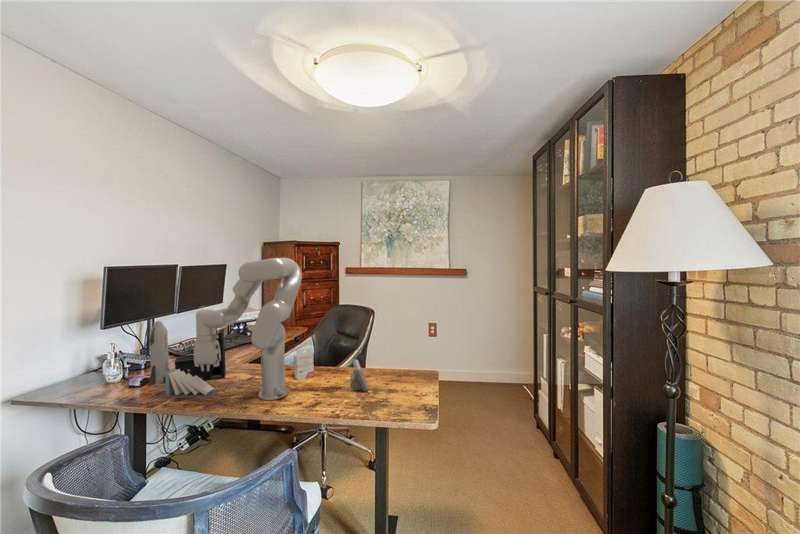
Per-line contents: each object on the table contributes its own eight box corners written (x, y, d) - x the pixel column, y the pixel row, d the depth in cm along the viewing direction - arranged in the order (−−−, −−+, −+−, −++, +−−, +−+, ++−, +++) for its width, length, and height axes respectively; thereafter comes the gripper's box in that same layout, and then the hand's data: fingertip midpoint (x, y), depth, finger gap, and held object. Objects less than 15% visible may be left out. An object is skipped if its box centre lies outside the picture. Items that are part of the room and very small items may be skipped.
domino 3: (195, 389, 159) (183, 370, 159) (188, 393, 154) (175, 374, 154) (192, 391, 159) (180, 372, 159) (185, 395, 154) (172, 376, 154)
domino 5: (214, 388, 158) (196, 375, 159) (207, 392, 153) (188, 379, 154) (212, 391, 158) (194, 378, 159) (205, 395, 154) (186, 382, 154)
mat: (222, 390, 161) (222, 389, 161) (209, 398, 151) (209, 397, 151) (174, 389, 162) (174, 388, 162) (158, 398, 152) (158, 397, 152)
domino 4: (204, 388, 159) (189, 373, 159) (197, 392, 154) (181, 376, 154) (202, 391, 159) (186, 375, 159) (195, 395, 154) (179, 379, 154)
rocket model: (156, 387, 166) (154, 323, 165) (141, 387, 166) (139, 323, 166) (176, 377, 180) (174, 318, 179) (163, 377, 180) (161, 318, 180)
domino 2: (186, 389, 159) (179, 368, 159) (179, 394, 154) (171, 372, 154) (183, 390, 159) (176, 369, 159) (175, 395, 154) (168, 373, 154)
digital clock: (368, 392, 155) (367, 368, 155) (347, 393, 155) (346, 368, 155) (370, 379, 171) (370, 358, 171) (352, 380, 171) (351, 358, 171)
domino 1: (177, 390, 160) (176, 368, 159) (169, 395, 155) (168, 372, 154) (174, 390, 160) (173, 368, 160) (166, 395, 155) (164, 372, 155)
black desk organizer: (169, 386, 166) (167, 337, 166) (174, 379, 176) (172, 332, 176) (224, 379, 176) (223, 332, 175) (226, 372, 186) (224, 328, 185)
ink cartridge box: (311, 374, 181) (310, 345, 181) (314, 376, 177) (313, 347, 176) (294, 377, 177) (293, 347, 176) (296, 380, 172) (296, 350, 172)
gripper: (227, 336, 159) (228, 376, 159) (195, 336, 160) (196, 376, 160) (217, 340, 151) (218, 382, 152) (184, 340, 152) (185, 382, 153)
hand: (207, 379), depth 156 cm, fingers closed
